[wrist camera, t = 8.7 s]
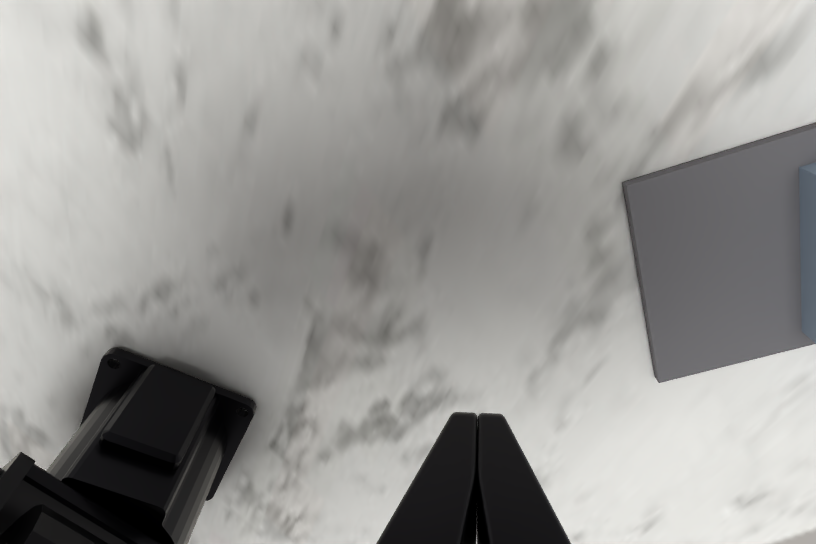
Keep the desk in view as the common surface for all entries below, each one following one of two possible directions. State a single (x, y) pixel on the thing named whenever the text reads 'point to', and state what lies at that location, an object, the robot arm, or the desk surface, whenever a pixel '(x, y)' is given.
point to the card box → (808, 248)
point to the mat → (722, 254)
